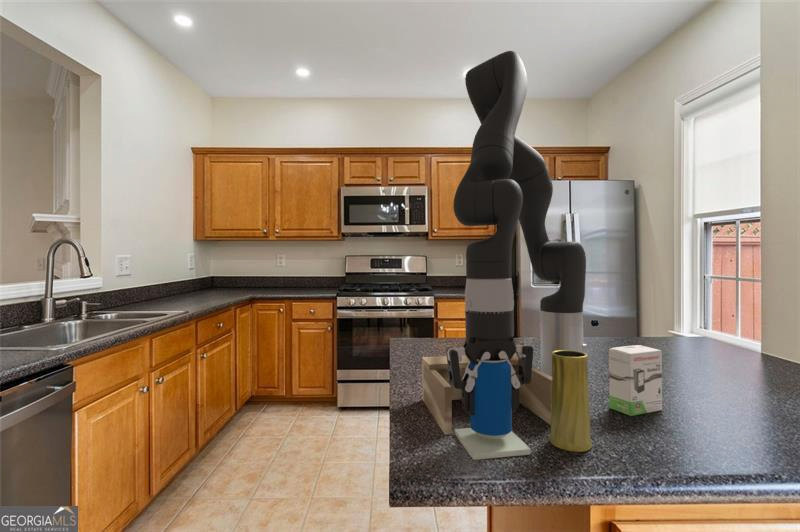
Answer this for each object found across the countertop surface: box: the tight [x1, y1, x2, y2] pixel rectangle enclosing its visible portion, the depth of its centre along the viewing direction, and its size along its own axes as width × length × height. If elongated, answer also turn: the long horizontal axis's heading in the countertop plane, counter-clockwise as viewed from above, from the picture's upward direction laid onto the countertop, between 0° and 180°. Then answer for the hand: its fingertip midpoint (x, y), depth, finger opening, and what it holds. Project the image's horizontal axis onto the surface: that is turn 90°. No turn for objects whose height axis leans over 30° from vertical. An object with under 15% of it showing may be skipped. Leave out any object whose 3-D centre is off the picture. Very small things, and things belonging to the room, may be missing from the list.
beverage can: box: [469, 359, 513, 439], centre depth 63 cm, size 6×6×12 cm
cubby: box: [421, 353, 552, 436], centre depth 77 cm, size 20×17×9 cm
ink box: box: [608, 344, 663, 417], centre depth 77 cm, size 9×5×12 cm, turn 110°
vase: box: [549, 350, 593, 453], centre depth 63 cm, size 6×6×14 cm
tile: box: [454, 427, 532, 461], centre depth 63 cm, size 9×9×1 cm
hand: (490, 411), depth 63 cm, fingers closed on beverage can, 6 cm apart
